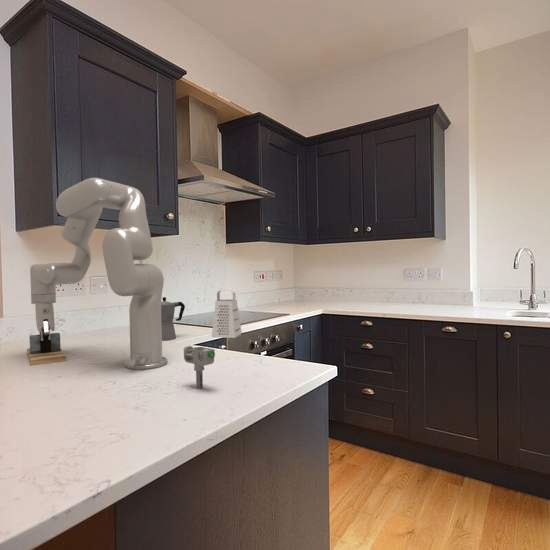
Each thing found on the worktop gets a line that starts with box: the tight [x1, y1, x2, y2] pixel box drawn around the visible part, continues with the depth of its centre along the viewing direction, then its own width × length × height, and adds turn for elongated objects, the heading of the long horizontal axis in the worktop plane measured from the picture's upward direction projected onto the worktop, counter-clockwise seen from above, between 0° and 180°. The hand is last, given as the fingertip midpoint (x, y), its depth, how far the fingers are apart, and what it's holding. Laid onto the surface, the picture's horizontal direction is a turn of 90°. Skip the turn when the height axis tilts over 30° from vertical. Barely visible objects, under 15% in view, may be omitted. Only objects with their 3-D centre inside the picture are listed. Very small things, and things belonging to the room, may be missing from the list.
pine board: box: [26, 347, 67, 366], centre depth 135 cm, size 24×10×2 cm, turn 35°
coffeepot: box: [161, 296, 186, 342], centre depth 166 cm, size 15×9×18 cm, turn 118°
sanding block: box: [29, 332, 62, 354], centre depth 136 cm, size 9×4×6 cm, turn 125°
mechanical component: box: [183, 345, 216, 389], centre depth 96 cm, size 3×10×10 cm, turn 51°
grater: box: [211, 289, 243, 339], centre depth 171 cm, size 10×10×20 cm
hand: (45, 350), depth 136 cm, fingers closed on sanding block, 4 cm apart
